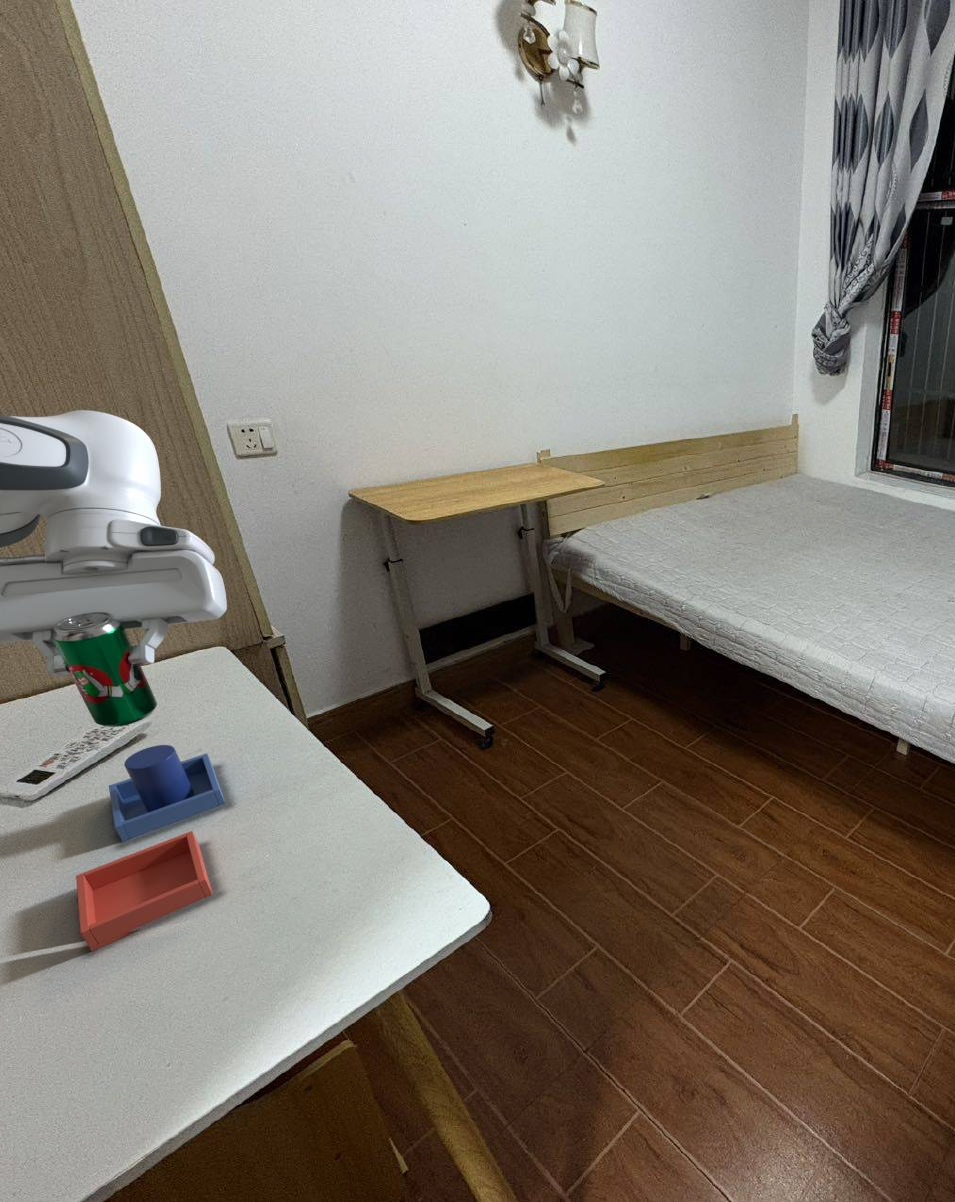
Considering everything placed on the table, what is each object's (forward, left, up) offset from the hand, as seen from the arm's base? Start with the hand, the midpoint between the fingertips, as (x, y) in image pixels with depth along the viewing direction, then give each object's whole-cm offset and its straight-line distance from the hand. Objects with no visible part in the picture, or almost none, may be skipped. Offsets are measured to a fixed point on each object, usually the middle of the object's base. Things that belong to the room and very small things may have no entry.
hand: (102, 668), depth 69 cm
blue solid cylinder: (-1, +3, -21) cm, 21 cm away
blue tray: (-1, +3, -21) cm, 22 cm away
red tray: (+3, -12, -21) cm, 25 cm away
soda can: (0, +1, -7) cm, 7 cm away
